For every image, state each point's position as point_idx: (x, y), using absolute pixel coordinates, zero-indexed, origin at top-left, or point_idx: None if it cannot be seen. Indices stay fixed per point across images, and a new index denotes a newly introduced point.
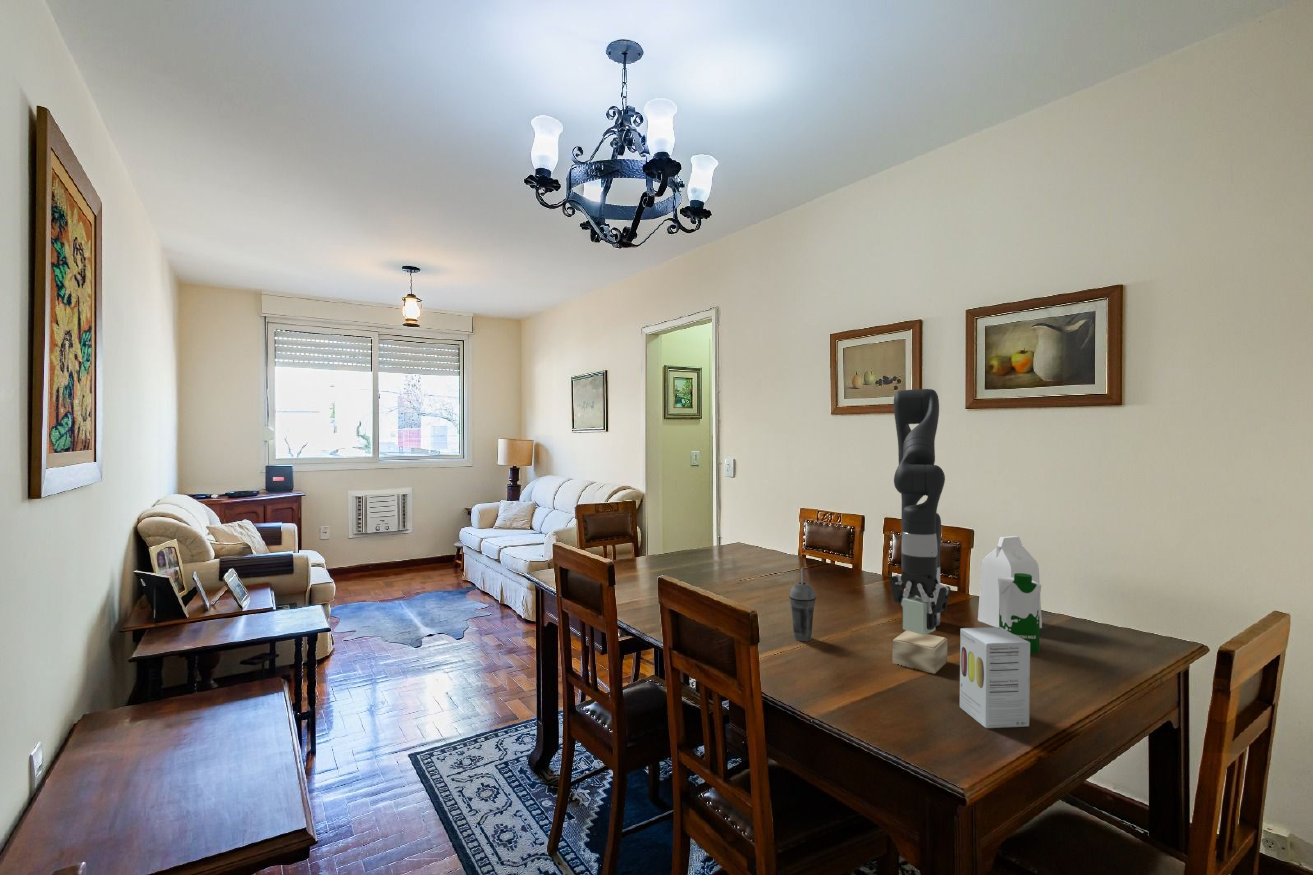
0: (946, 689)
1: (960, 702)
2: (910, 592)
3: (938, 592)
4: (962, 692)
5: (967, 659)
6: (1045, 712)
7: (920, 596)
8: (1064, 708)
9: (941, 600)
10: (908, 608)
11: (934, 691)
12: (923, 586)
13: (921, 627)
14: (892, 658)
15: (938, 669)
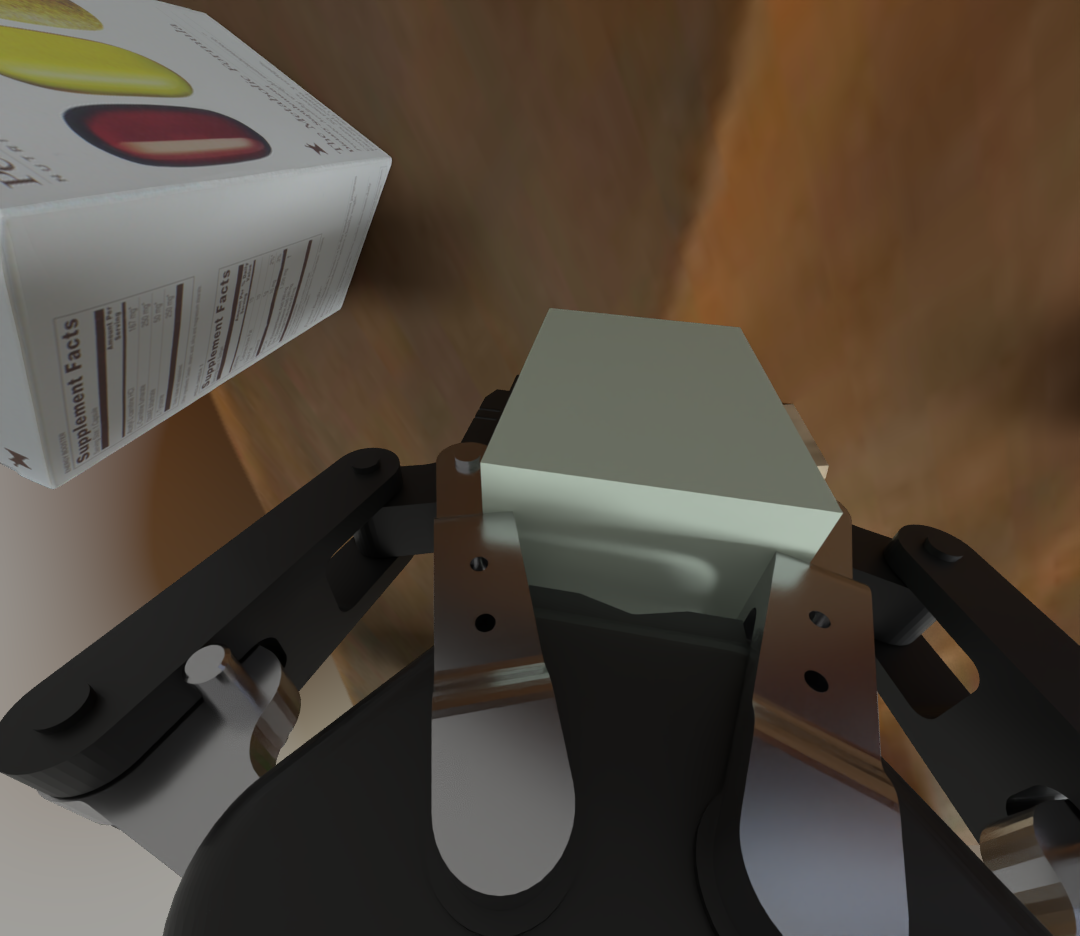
0: (522, 308)
1: (373, 151)
2: (749, 656)
3: (187, 673)
4: (328, 141)
5: (104, 97)
6: (259, 363)
7: (571, 606)
8: (265, 424)
9: (225, 555)
10: (713, 426)
11: (543, 248)
12: (438, 791)
13: (556, 330)
14: (799, 415)
15: None
